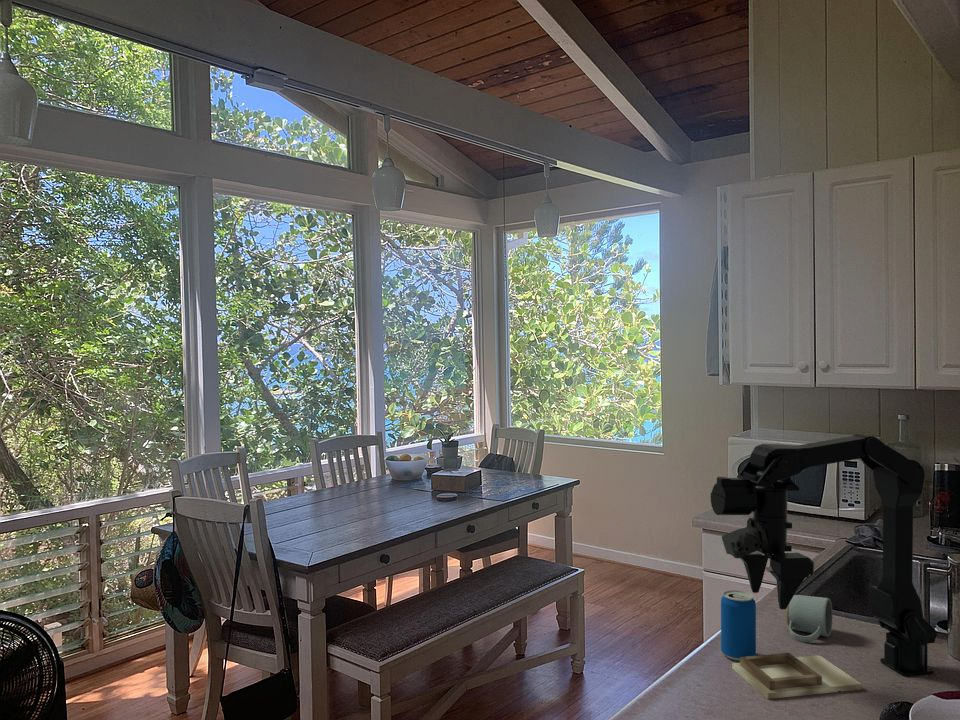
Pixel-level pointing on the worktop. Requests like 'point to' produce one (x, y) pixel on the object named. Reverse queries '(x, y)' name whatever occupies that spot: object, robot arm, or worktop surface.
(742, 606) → the beverage can
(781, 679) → the can holder
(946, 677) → the worktop surface
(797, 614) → the ceramic mug
